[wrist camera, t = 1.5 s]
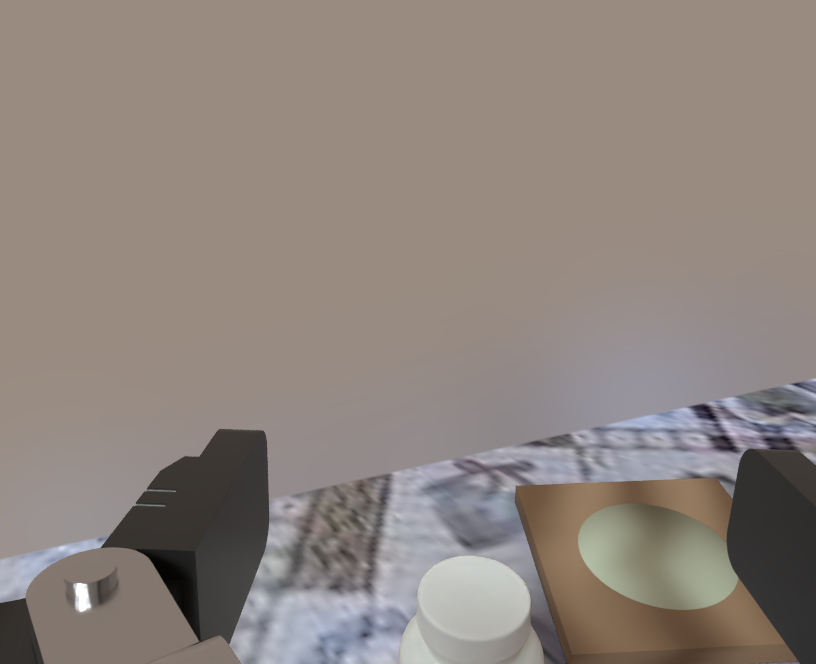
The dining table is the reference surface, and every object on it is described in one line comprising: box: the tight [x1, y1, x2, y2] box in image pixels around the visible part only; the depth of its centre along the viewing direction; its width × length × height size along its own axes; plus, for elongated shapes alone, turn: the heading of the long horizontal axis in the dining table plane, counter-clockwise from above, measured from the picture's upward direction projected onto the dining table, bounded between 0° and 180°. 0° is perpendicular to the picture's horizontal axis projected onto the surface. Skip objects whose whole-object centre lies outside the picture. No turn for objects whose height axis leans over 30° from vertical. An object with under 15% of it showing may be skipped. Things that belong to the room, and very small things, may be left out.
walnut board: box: [515, 478, 798, 664], centre depth 38 cm, size 13×13×1 cm
